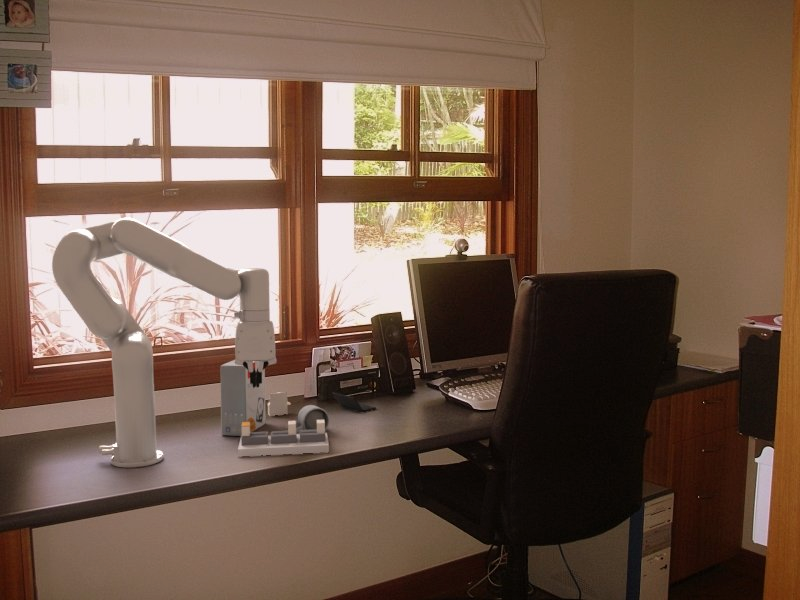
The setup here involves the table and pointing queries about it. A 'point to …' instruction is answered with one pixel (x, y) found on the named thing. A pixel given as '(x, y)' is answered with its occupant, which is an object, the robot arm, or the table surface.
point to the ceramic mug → (311, 418)
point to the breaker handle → (245, 428)
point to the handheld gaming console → (352, 403)
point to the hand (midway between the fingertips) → (256, 386)
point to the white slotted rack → (285, 441)
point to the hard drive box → (240, 399)
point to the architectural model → (278, 404)
